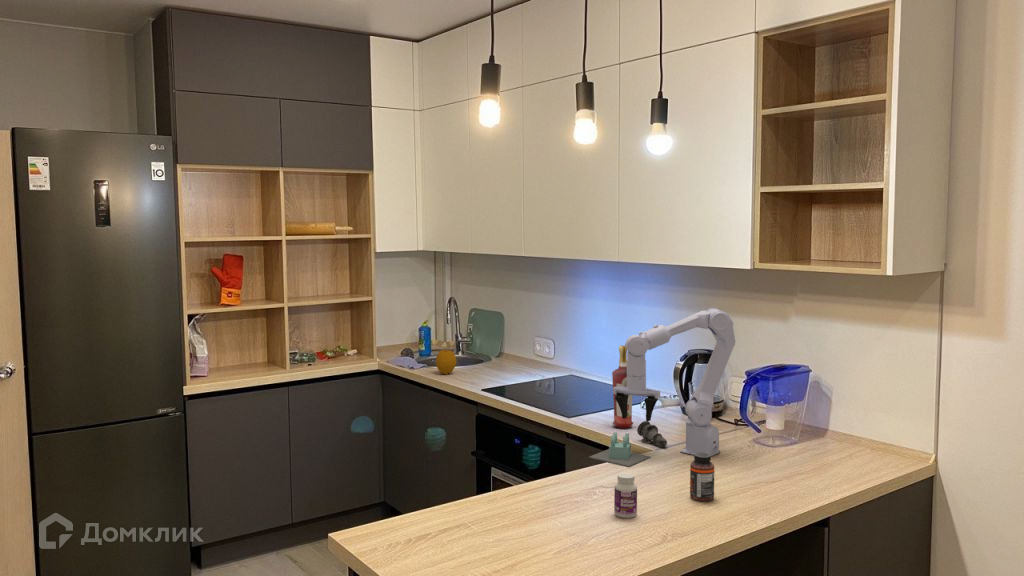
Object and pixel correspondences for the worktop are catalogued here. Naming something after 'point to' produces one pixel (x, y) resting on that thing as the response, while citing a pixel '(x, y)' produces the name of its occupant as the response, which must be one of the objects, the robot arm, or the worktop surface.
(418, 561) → the worktop surface
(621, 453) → the stool
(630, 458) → the mat
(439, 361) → the orange rounded oval
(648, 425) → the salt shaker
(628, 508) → the pill bottle
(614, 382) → the liquor
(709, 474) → the supplement bottle
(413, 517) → the worktop surface
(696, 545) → the worktop surface
